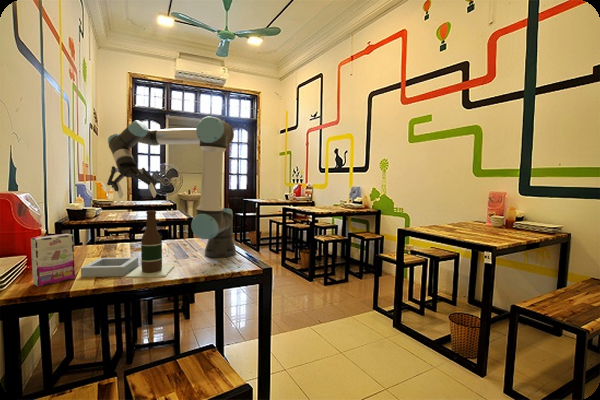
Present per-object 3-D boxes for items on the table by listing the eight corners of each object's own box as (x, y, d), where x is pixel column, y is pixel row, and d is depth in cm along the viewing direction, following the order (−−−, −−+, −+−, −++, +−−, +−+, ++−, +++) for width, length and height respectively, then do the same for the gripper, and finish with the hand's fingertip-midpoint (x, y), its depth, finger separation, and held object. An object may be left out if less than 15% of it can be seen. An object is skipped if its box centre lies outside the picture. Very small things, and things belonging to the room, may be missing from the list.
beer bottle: (147, 274, 119) (146, 211, 117) (137, 270, 124) (136, 210, 122) (166, 270, 125) (165, 210, 124) (156, 266, 130) (155, 209, 128)
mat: (174, 266, 132) (174, 265, 132) (165, 276, 119) (165, 275, 118) (139, 267, 130) (139, 266, 130) (125, 277, 116) (125, 276, 116)
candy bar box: (69, 276, 117) (68, 233, 116) (75, 278, 114) (74, 234, 113) (31, 284, 107) (30, 237, 106) (37, 287, 105) (35, 239, 104)
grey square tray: (138, 265, 133) (138, 257, 133) (124, 275, 119) (124, 266, 118) (100, 266, 131) (100, 257, 131) (81, 277, 116) (80, 267, 116)
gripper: (150, 168, 153) (164, 200, 145) (91, 166, 135) (103, 202, 126) (155, 157, 150) (170, 189, 141) (95, 153, 131) (108, 190, 122)
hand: (138, 195), depth 133 cm, fingers open, 13 cm apart
